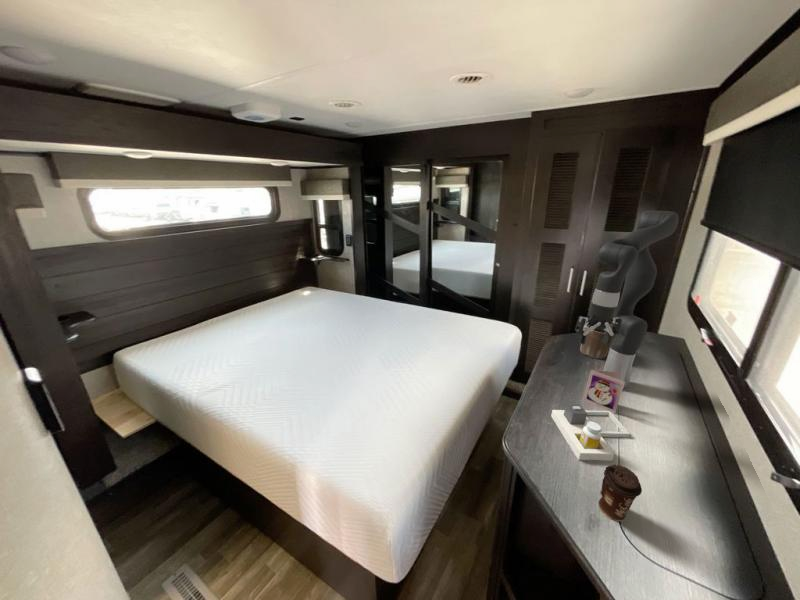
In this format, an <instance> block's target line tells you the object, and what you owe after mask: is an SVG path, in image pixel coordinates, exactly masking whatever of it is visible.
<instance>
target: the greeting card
mask: <svg viewBox="0 0 800 600" xmlns="http://www.w3.org/2000/svg"><path fill="white" fill-rule="evenodd" d="M621 373H622V372H612V371H603V370H600V369H590V371H589V375H588V379H587V383H586V387H585V389H584V390H585V391H584V393H583V397H582V401H583V402H585V403H588V404H591V405H593V406H595V407H597V408H601V409H603V410H604V411H610V412H611V413H612V414H613V415H614V414H616V411H617V408H618V406H619V403H620V399H621V396H622V393H623V391H624V388H623V387H624V384H625V382H624V381H622V380H620V377H621Z"/></svg>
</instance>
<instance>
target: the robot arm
mask: <svg viewBox="0 0 800 600" xmlns="http://www.w3.org/2000/svg"><path fill="white" fill-rule="evenodd" d="M679 219H680V218H679V214H678V213H677V212H675V211H668V210H645V211H643V212H642V213H641V214H640V215H639V218H638V220H637V224H636V229H635V230H632V231H631V232H629V233H627V234H626V235H624V236H622V237H621V238H617V239H614V240H610V241H608V242H605V243H604V244H603V245H601V247H600V248H599V249H598V252H597V254H596V255H597V260H598V262H600V263H601V264H602V265H607V266H612V267H617V270H615V271H602V272H600V273H599V275H598V278H597V282H596V284H595V285H596V286H595V289H594V292H593V294H592V299H591V301H590V306H589V311H588V313H589V314H588V316H586V317H585V316H583V315H580V316H578V318H577V321H576V325H575V328H574V330H575V332H576V333H578V335H579V337H578V342H579V343H580V345H581V344H585V341H586V337H587V336H586V335H587V334H588V333H589V332H592V331H593V330H594V329H595V330H598V329H600V330H605V331H606V333H605V335H604V339H603V343H604V344H606V345H608V344H609V343H610V341H611V338H612V336H613V335H614V334H616V335H619V334H620V335H622V336H624V337H623V339H613V341H612V343H611V346H610V348H609V351H608V353H607V355H606V360H605V364H604V367H603V370H602V371H612V372H622V373H621V377H620V380H622V381H624V382H625V384H624V387H623V389H624V388H628V385H629V382H630V381H631V377H632V373H633V371H634V368H633V367H632V366H633V363H634V361H635V357H636V355H637V351H639V349H640V348H641V346H642V343H643V341H644V339H645V336H646V333H647V330H648V323H647V321H646V320H645V319H642V318H640V317H638V316H636V315H634V310H635V306H636V305H637V303H638V302H639V301H640V300H641V299H642V298H643V297H644V296H646V295H647V294H648V293H650V291H651V290H652V289H653V286H654V284H655V281H656V278H657V273H658V270H657V269H658V268H657V266H656V263H655V261H654V259H653V257H652V255H651V253H650V250H649V247H648V246H651V245H652V244H655V243H657V242H659V241H661V240H664V239H667V238H668V237H670V236H671V235H673V233H674V232H675V231H676V230H677V227H678V224H679ZM623 283H624V285H623ZM622 287H623V289H622ZM621 290H622V292H621ZM587 321H588V322H587ZM586 322H587V323H586ZM610 324H612V329H611V327H610V326H609V325H610ZM589 326H590V328H589ZM586 329H587V330H586Z"/></svg>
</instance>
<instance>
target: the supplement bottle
mask: <svg viewBox="0 0 800 600" xmlns="http://www.w3.org/2000/svg"><path fill="white" fill-rule="evenodd" d="M601 430H602V427H601V425H600V424H599V423H596V422H593V421H591V422H588V423H587V425H586V426H585V427H584V428H583V430H582V433H581V437H580V440H579V442H580V443H581V445H582V446H583V447H584V449H597V448H598V445H599V442H600V439H601V437H602V436H601V433H600V431H601Z"/></svg>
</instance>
